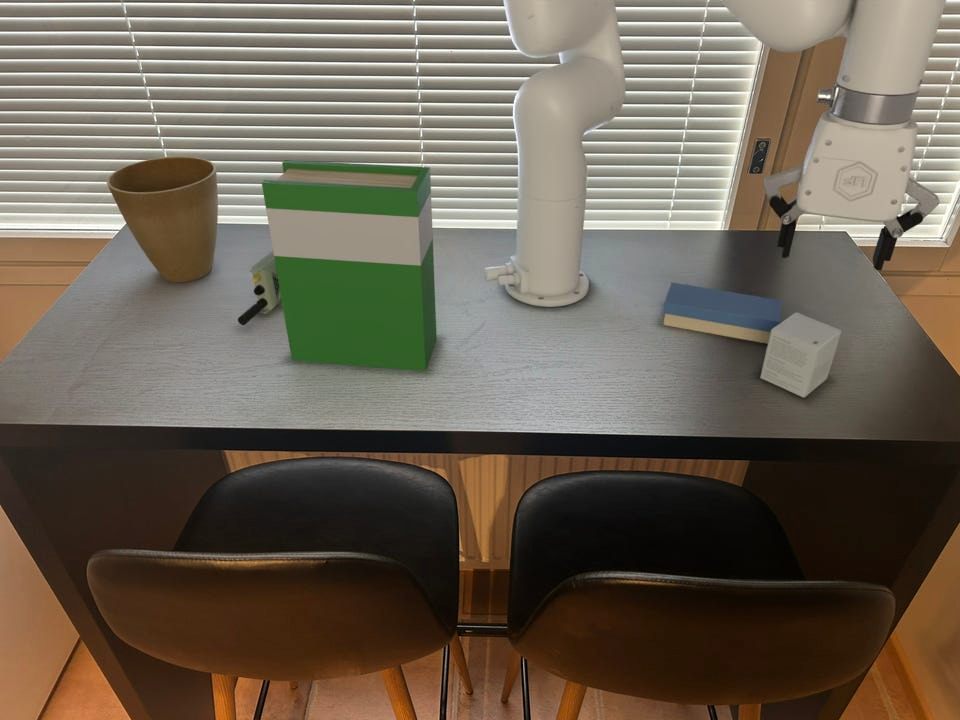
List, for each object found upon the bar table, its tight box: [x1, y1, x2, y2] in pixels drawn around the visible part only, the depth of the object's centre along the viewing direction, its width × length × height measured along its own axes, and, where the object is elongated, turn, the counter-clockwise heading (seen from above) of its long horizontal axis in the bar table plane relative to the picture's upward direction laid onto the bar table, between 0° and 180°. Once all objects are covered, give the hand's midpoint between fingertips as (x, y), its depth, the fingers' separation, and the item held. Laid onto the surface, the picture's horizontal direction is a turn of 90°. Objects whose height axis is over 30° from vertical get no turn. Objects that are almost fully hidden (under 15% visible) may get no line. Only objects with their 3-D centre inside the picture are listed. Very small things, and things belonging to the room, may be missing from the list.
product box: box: [759, 311, 842, 398], centre depth 93 cm, size 6×6×7 cm
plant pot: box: [106, 155, 219, 283], centre depth 114 cm, size 15×15×16 cm
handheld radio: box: [237, 250, 282, 326], centre depth 112 cm, size 7×3×25 cm
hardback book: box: [261, 159, 438, 372], centre depth 93 cm, size 18×7×24 cm, turn 82°
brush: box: [662, 281, 783, 345], centre depth 104 cm, size 15×6×4 cm, turn 70°
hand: (830, 258), depth 86 cm, fingers open, 9 cm apart
